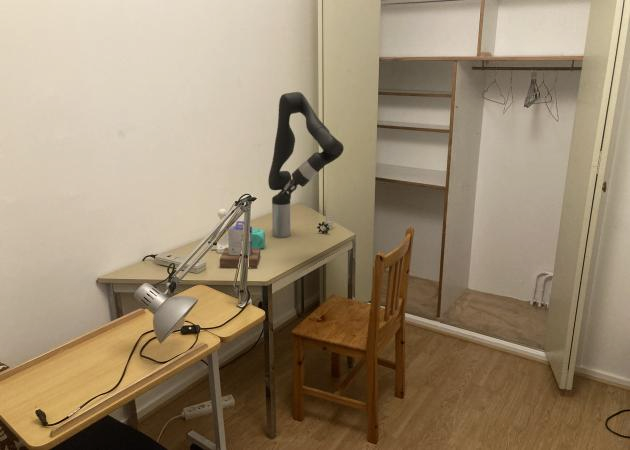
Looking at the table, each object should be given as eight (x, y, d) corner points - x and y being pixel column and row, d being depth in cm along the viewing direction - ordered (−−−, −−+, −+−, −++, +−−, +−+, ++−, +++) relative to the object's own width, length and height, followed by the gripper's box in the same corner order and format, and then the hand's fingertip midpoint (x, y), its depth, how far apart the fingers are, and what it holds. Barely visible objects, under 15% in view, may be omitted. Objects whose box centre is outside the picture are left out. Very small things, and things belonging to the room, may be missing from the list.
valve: (324, 227, 289) (316, 233, 278) (324, 215, 287) (316, 221, 276) (336, 228, 286) (328, 235, 276) (336, 216, 284) (329, 222, 274)
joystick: (236, 249, 254) (235, 208, 248) (230, 254, 246) (229, 212, 241) (214, 247, 256) (212, 206, 250) (208, 252, 249) (206, 211, 243)
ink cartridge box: (253, 252, 238) (252, 221, 234) (250, 256, 233) (249, 224, 229) (231, 251, 239) (230, 220, 235) (228, 255, 234) (227, 223, 230)
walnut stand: (225, 256, 244) (225, 248, 243) (260, 256, 244) (260, 248, 243) (219, 267, 231) (219, 259, 229) (257, 268, 231) (256, 259, 229)
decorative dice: (246, 249, 253) (246, 233, 251) (248, 244, 261) (248, 228, 258) (263, 249, 253) (263, 233, 251) (265, 244, 261) (264, 228, 258)
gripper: (299, 163, 235) (273, 188, 239) (297, 170, 222) (270, 196, 225) (311, 175, 237) (285, 200, 240) (310, 183, 223) (283, 209, 227)
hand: (278, 198), depth 233 cm, fingers open, 8 cm apart
